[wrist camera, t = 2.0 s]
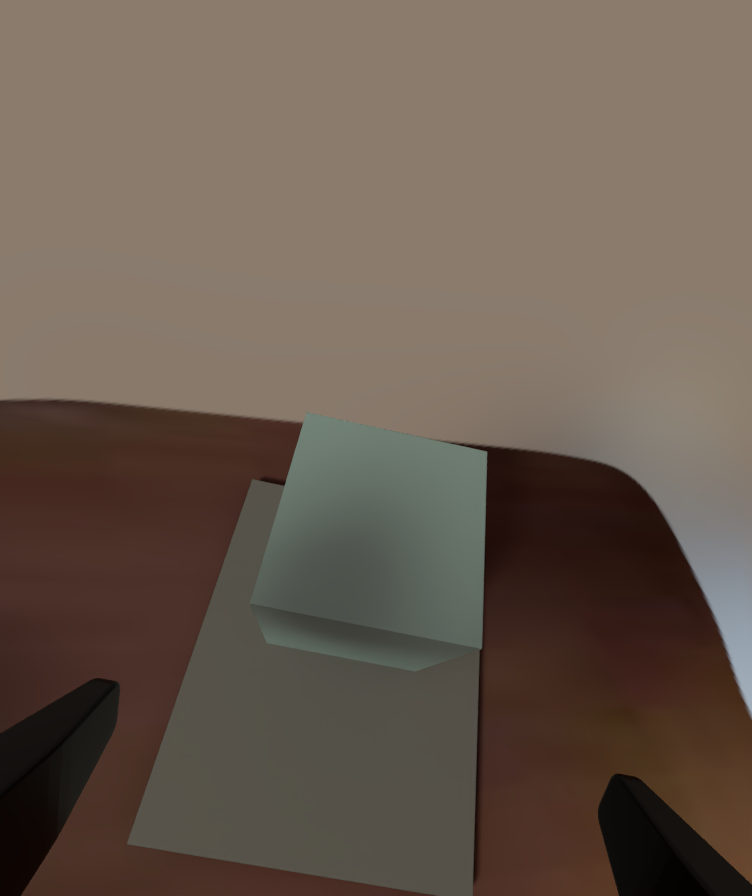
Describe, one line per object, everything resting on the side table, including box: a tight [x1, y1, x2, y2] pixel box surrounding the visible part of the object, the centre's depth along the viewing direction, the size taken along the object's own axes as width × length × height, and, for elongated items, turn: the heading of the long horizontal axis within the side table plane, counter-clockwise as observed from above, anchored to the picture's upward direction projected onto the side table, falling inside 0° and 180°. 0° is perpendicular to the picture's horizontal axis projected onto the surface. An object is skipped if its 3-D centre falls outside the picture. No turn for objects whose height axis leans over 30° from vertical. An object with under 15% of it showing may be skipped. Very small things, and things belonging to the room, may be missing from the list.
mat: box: [127, 479, 480, 896], centre depth 18 cm, size 14×12×3 cm
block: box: [250, 412, 487, 671], centre depth 17 cm, size 6×6×8 cm
